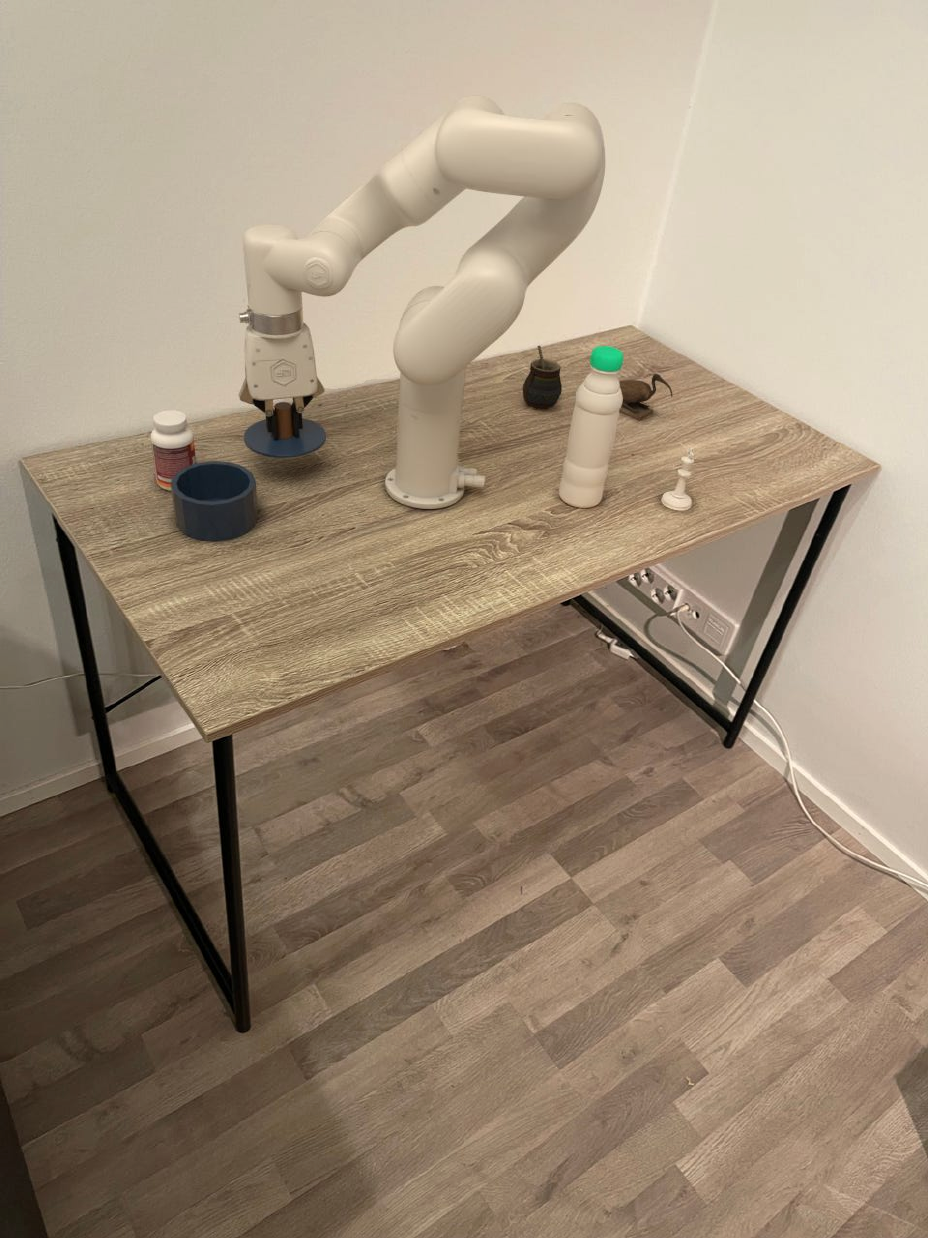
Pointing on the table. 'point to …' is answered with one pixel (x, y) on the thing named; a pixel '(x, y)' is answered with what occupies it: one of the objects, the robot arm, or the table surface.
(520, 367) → the table surface
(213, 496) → the tin
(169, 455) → the pill bottle
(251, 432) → the lid
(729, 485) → the table surface
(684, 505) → the chess piece
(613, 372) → the water bottle
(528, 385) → the mate gourd
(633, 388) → the figurine
